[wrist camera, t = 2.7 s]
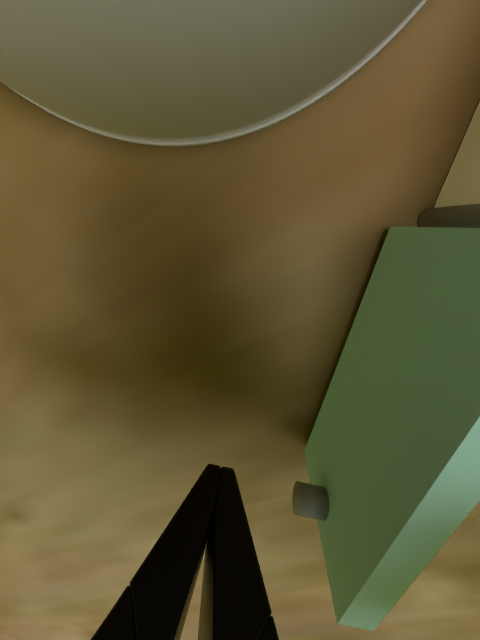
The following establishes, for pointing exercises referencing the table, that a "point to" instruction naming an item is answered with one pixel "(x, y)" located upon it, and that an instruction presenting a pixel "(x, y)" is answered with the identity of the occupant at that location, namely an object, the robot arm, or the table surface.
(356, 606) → the door
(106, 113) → the kettle
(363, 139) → the table surface
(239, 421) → the table surface
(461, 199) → the cupboard
